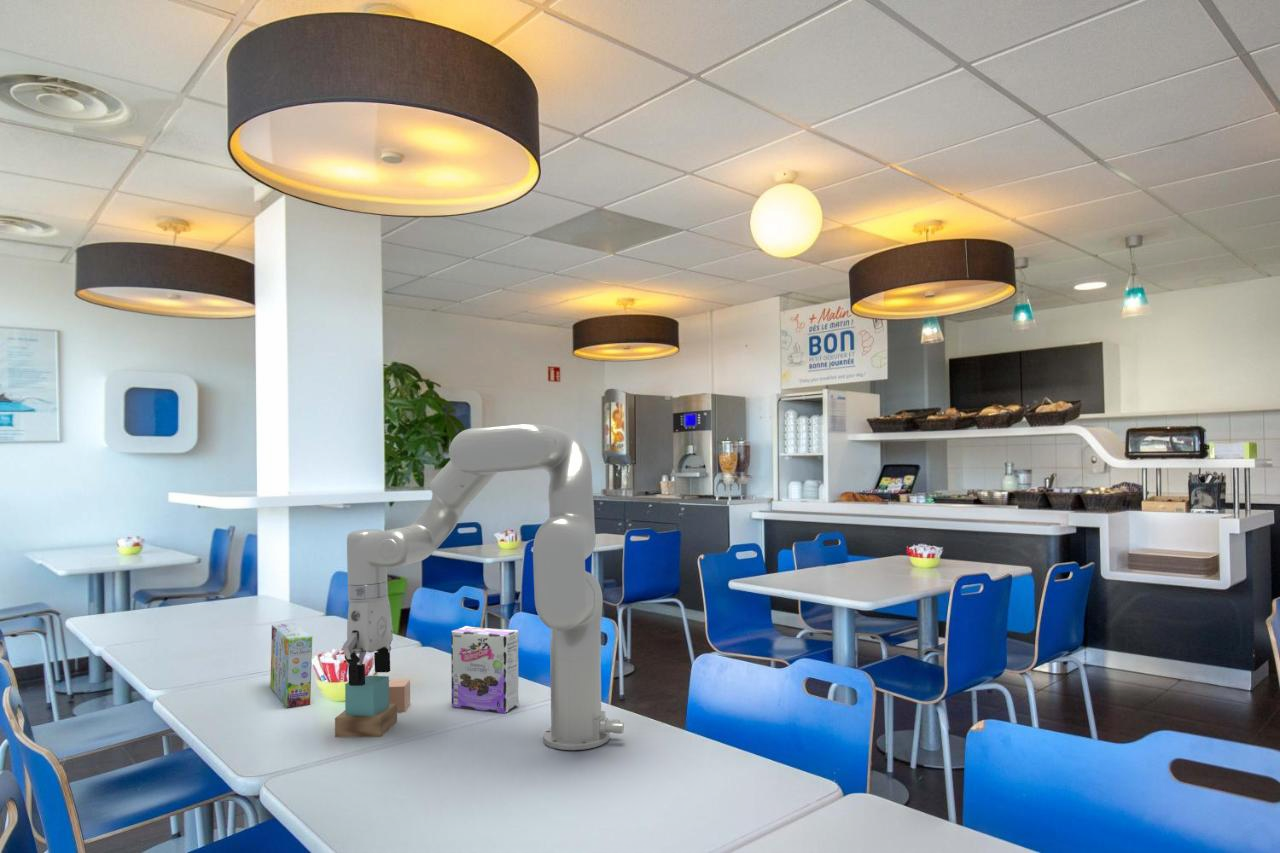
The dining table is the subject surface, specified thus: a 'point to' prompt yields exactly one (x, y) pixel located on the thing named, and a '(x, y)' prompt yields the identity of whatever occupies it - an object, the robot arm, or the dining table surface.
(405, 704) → the terracotta cube
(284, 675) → the snack box
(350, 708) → the teal cube
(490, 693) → the candy box
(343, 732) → the walnut block
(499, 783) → the dining table surface
